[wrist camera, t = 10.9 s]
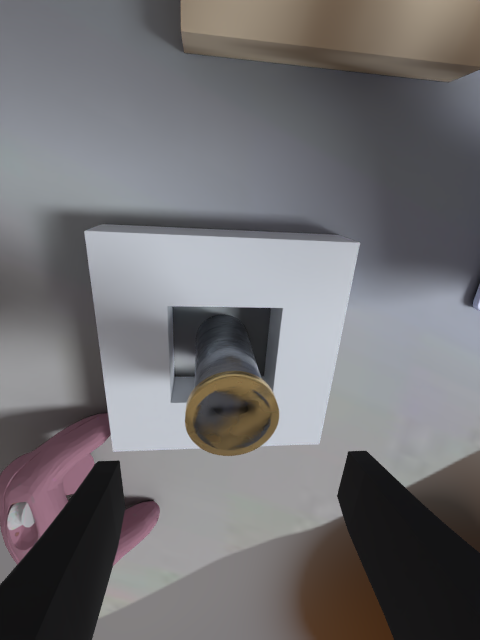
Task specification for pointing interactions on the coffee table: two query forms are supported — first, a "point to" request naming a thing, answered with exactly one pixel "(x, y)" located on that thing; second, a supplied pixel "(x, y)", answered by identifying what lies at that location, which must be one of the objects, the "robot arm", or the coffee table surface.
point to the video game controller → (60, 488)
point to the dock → (215, 291)
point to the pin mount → (341, 34)
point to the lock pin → (228, 392)
